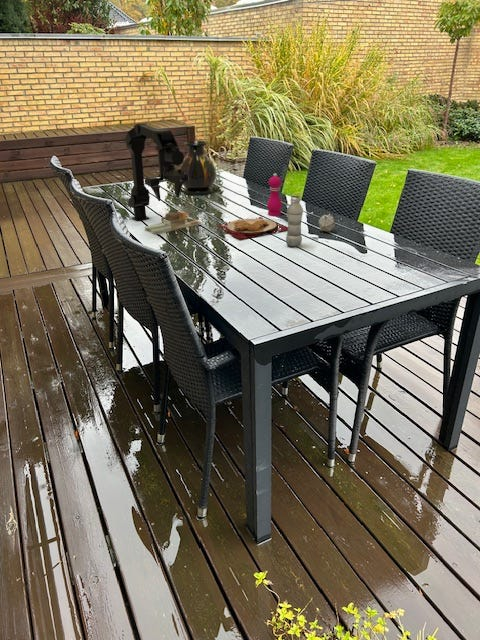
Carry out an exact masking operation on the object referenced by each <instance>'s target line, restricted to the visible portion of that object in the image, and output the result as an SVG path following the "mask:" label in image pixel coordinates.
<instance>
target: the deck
mask: <svg viewBox="0 0 480 640" xmlns="http://www.w3.org/2000/svg"><path fill="white" fill-rule="evenodd" d="M163 219H166V216H164V217H161V223H156V224H151V225H146V226H144V230H145V231H146V232H149V233H151V234H154V235H159V234H160V235H161V234H163V233H169V232H172V231H173V232H174V231H176V230H181V229H184V228H189V227H193V226H198V225H200V223H201V222H200V220H198V219H194V218H192V217H191V216H188V217H187V216H186V220H187V222H186V223H185V219H179V220H175V221H171V226H169V225H167V224H165V223H163Z"/></svg>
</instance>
